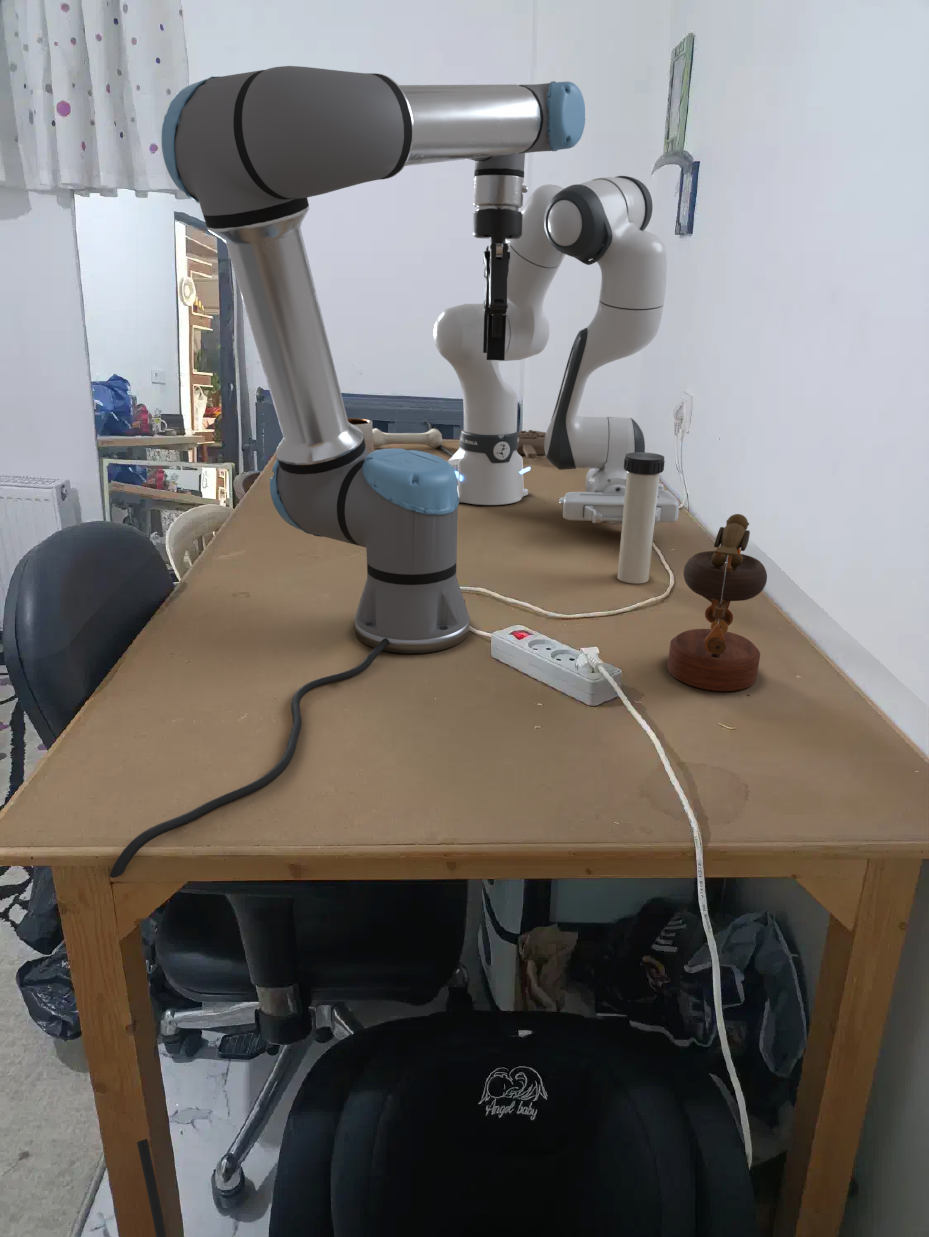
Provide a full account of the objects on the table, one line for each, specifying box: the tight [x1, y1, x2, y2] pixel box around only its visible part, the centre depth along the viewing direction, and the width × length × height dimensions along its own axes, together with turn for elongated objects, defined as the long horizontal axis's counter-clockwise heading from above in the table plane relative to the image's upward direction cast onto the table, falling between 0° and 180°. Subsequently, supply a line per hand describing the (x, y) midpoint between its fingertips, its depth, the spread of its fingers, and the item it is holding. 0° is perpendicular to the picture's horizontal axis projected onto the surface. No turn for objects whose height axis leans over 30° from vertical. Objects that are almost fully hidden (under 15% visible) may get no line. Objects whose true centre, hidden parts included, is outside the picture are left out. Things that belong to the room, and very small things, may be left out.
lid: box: [624, 451, 666, 474], centre depth 127 cm, size 6×6×2 cm
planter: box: [347, 417, 375, 454], centre depth 212 cm, size 11×11×10 cm
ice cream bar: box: [517, 429, 547, 459], centre depth 225 cm, size 21×28×4 cm
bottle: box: [616, 471, 661, 585], centre depth 131 cm, size 5×5×19 cm
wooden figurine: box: [667, 513, 768, 692], centre depth 100 cm, size 15×11×20 cm
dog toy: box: [373, 427, 444, 449], centre depth 229 cm, size 20×6×5 cm, turn 99°
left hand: (493, 356), depth 136 cm, fingers open, 13 cm apart
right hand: (625, 519), depth 143 cm, fingers open, 8 cm apart
